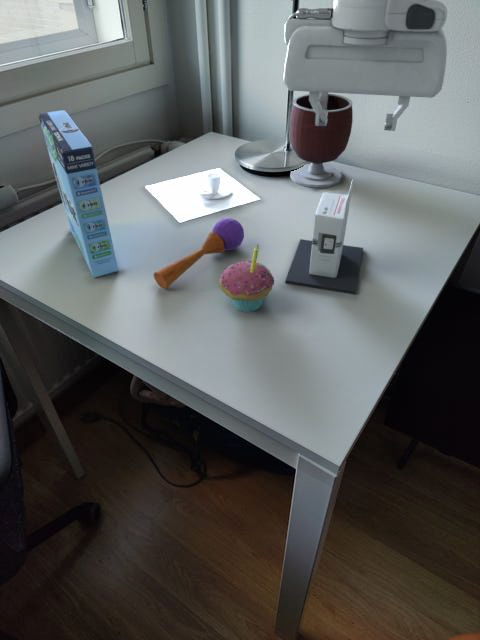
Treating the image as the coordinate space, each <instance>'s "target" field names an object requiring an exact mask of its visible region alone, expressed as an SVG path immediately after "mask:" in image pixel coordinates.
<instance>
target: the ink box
mask: <svg viewBox="0 0 480 640" xmlns="http://www.w3.org/2000/svg"><path fill="white" fill-rule="evenodd" d="M353 187H354V179H351V182H350V187H349V189H348V193H347V194H342V193H334V192H333V193H332V192H326V191H324V192H323V193H322V195H321V197H320V199H319V202H318V205H317V208H316V211H315V214H314V220H313V222H314V223H313V232H312V240H311V241H312V251H311V260H310V270H309V274H312V275H318V276H325V277H332V278H336V277H337V273H338V268H339V264H340V260H341V256H342V250H343V245H344V243H345V236H346V231H347V223H348V217H349V212H350V205H351V200H352V194H353Z"/></svg>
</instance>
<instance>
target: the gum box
mask: <svg viewBox="0 0 480 640" xmlns="http://www.w3.org/2000/svg"><path fill="white" fill-rule="evenodd" d="M37 116H38V120H39V122H40V127H41V131H42V134H43V137H44V142H45V144H46V148H47V152H48V156H49V159H50V162H51V166H52V170H53V174H54V177H55V181H56V184H57V188H58V192H59V196H60V199H61V202H62V206H63V210H64V214H65V216H66V220H67V223H68V227H69V230H70V232H71V234H72V237H73V238H74V240H75V242H76V244H77V246H78V248H79V250H80V252H81V254H82V256H83V258H84V261H85V263H86V265H87V267H88V269H89V271H90V274H91V276H92V277H93V278H94V279H96V278H100V277H103V276H106V275H110V274H114V273H117V272H119V266H118V261H117V258H116V253H115V248H114V243H113V239H112V234H111V229H110V225H109V220H108V216H107V215H108V214H107V211H106V210H107V209H106V206H105V202H104V197H103V193H102V187H101V182H100V178H99V174H98V170H97V164H96V160H95V159H96V158H95V155H94V149H93V145H92V144H91V143H90V142H89V140H88V139H87V137H86V136H85V135H84V134H83V133H82V131H81V129H80V128H79V127H78V126H77V124H76V123H75V122H74V120H73V119H72V118H71V116H70V115H69V113H68V112H67V111H66V110H65V109H63V110H56V111H49V112H43V113H38V114H37Z"/></svg>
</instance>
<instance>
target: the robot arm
mask: <svg viewBox="0 0 480 640" xmlns="http://www.w3.org/2000/svg"><path fill="white" fill-rule="evenodd" d="M294 17H296V18H294ZM447 17H448V9H447V7H446V5H445V3H443V2H442V1H439V0H333V6H332V7H325V8H323V7H319V8H312V9H311V8H306V7H302V8H297V10H296V11H295V12H292V13H291V14H290V15H288V17H287V18H286V20H285V23H284V43H285V45H286V48H287V51H286V57H285V62H284V71H283V85H284V86H285V87H286V88H287V90H288V91H290V92H307V93H308V94H309V101H310V104H311V106H312V108H313V110H314V112H315V113H316V120H315V126H326V124H327V119H328V118H327V116H328V110H323V109H322V107H321V104H320V102H319V99H320V97H321V94H322V92H328V94H347V95H348V94H351V95H367V96H368V95H369V96H371V95H372V96H388V97H389V96H390V97H398V100H397V105H398V107H396V109H395V110H394V111H393V113H386V116H385V122H384V127H383V131H389V132H395V131H396V127H397V123H398V119H400V117H401V116H402V114H403V113H404V112H405V110H406V109H408V107H409V105H410V100H411V98H427V99H428V98H429V99H432V98H435V97H436V96H437V95H438V94H439V93H440V92H441V91H442V89H443V85H444V80H445V73H446V67H447V50H448V47H447V46H448V45H447V38H446V36H445V32H444V30H443V27H444V26H445V24H446V21H447Z"/></svg>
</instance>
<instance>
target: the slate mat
mask: <svg viewBox="0 0 480 640" xmlns="http://www.w3.org/2000/svg"><path fill="white" fill-rule="evenodd" d="M312 241H313V240H310V239H301V238H300V239H299V242H298V245H297V247H296V250H295V253H294V256H293V259H292V262H291V263H290V267H289V270H288V272H287V276H286V278H285V281H284V284H287V285H294V286H301V287H306V288H312V289H313V288H314V289H318V290H326V291H332V292H339V293H345V294H351V295H356V292H357V286H358V281H359V280H358V279H359V276H360V275H359V274H360V270H361V263H362V258H363V250H364V247H360V246H353V245H345V244H343V250H342V256H341V260H340V264H339V268H338V273H337V277H336V278H332V277H325V276H318V275H312V274H309V270H310V260H311V251H312Z"/></svg>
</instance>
